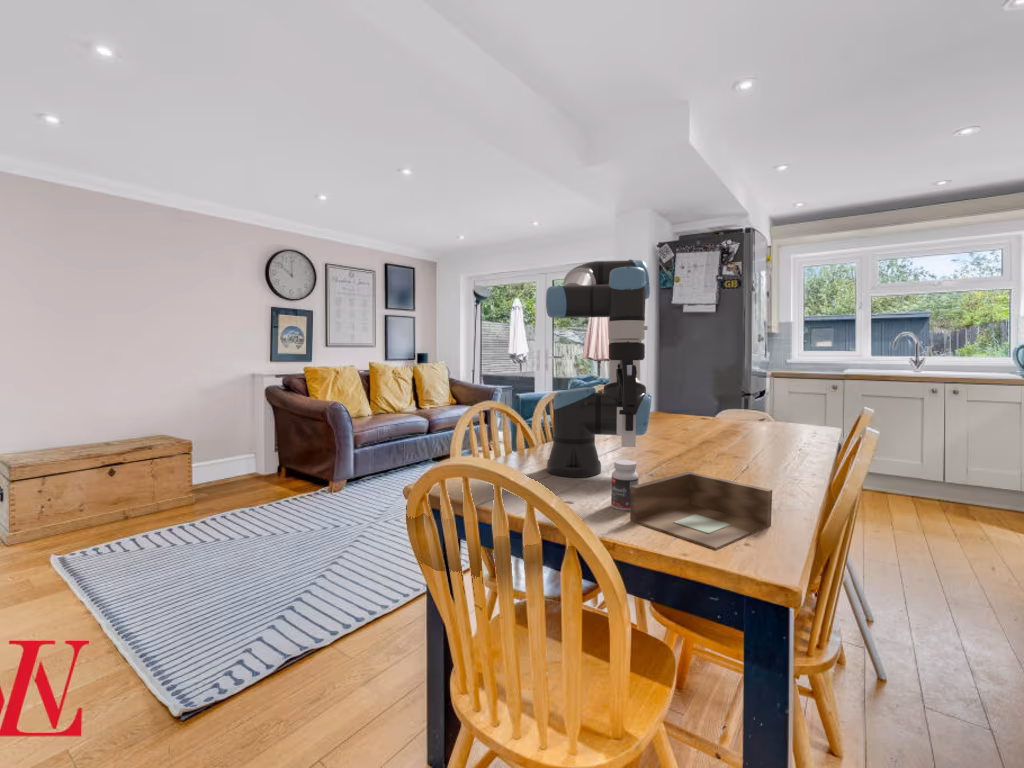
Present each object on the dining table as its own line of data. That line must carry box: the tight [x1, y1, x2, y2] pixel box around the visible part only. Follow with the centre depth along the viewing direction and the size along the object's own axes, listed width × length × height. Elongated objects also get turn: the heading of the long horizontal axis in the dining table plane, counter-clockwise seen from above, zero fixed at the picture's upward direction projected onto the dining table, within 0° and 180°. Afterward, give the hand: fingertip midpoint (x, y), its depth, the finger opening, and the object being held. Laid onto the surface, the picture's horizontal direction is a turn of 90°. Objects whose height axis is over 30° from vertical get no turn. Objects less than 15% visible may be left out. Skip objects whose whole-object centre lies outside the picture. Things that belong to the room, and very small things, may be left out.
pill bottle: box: [610, 459, 639, 512], centre depth 109 cm, size 6×6×10 cm
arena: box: [629, 471, 773, 550], centre depth 99 cm, size 18×20×7 cm
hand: (625, 440), depth 108 cm, fingers open, 13 cm apart
